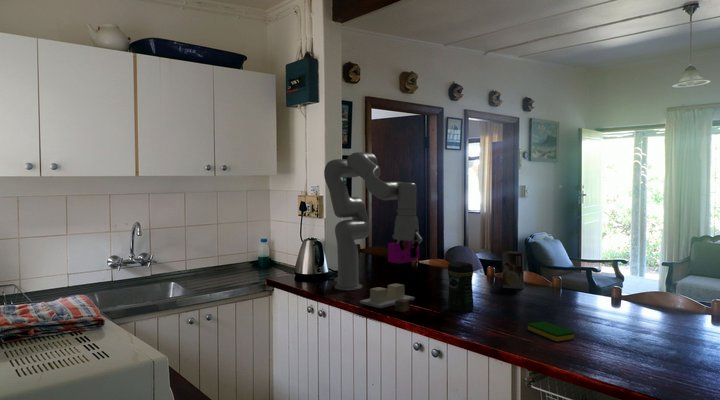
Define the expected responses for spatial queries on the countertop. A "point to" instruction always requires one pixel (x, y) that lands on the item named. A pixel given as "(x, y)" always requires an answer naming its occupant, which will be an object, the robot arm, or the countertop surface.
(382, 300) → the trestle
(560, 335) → the dish sponge
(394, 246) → the toy block
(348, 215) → the robot arm
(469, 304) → the coffee jar
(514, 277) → the coffee box
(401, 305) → the cube
